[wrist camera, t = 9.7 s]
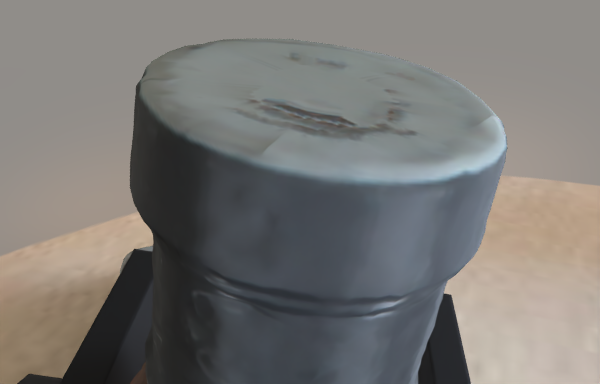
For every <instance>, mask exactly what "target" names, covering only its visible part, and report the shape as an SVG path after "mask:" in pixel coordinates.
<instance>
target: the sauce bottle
mask: <svg viewBox="0 0 600 384" xmlns="http://www.w3.org/2000/svg"><path fill="white" fill-rule="evenodd" d="M506 151H507V137H506V135H505V133H504V125H503V123H502V121H501V120H500V119H499V118H498V117H497V115H496V114H495V113H494V112H493V111H492V110H491V109H490V108H489V107H488V106H487V105H486V104H485V103H484V102H483V101H482V100H481V99H480V98H479V97H478V96H476V95H475V94H474V93H472V92H471V91H470V90H468V89H467V88H466V87H465V86H463V85H462V84H461V83H459V82H458V81H457V80H454V79H452V78H450V77H447V76H445V75H443V74H441V73H438V72H436V71H434V70H432V69H430V68H427V67H424V66H421V65H418V64H415V63H412V62H409V61H406V60H403V59H400V58H396V57H392V56H389V55H385V54H381V53H375V52H370V51H364V50H359V49H354V48H348V47H343V46H337V45H330V44H323V43H315V42H307V41H300V40H293V39H229V40H220V41H214V42H208V43H205V44H198V45H190V46H184V47H181V48H179V49H176V50H173V51H170V52H167V53H166V54H164V55H162V56H160V57H159V58H157V59H155V60H154V61H152V62H151V63H150V64H149V65H148V66H147V67H146V69H145V72H144V74H143V77H142V79H141V80H140V82H139V83H138V84H137V86H136V96H135V109H134V131H133V140H132V150H131V161H130V189H131V193H132V197H133V201H134V204H135V206H136V207H137V210H138V212H139V213H140V215H141V217H142V219H143V221H144V222H145V223H146V224H147V225H148V227H149V228H150V229H151V231H152V233H153V241H154V244H153V251H152V265H153V277H154V280H153V308H152V327H151V329H150V332H149V335H148V338H147V339H146V342H145V356H146V362H145V363H144V364H143V366H142V369H141V370H140V371H139V372H138V373H137V374H136V376H135V377H134V378H133V380H132V381H131V383H130V384H418V370H419V367H420V364H421V359H422V356H423V354H424V351H425V349H426V345H427V342H428V339H429V337H430V335H431V333H432V331H433V328H434V326H435V322H436V317H437V313H438V310H439V306H440V304H441V301H442V299H443V294H444V289H445V286H446V283H447V281H448V280H449V279H451V278H452V277H453V276H455V275H456V274H457V273H458V272H459V271H460V270H461V269H462V268H463V267H464V266H465V265H466V264H467V263H468V262H469V261H470V260H471V259H472V258H473V257H474V255H475V254H476V252H477V250H478V248H479V246H480V244H481V241H482V238H483V236H484V233H485V229H486V222H487V218H488V215H489V212H490V209H491V206H492V203H493V199H494V196H495V192H496V189H497V185H498V182H499V179H500V176H501V173H502V169H503V166H504V163H505V158H506Z"/></svg>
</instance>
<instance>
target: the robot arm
mask: <svg viewBox="0 0 600 384" xmlns="http://www.w3.org/2000/svg"><path fill="white" fill-rule="evenodd" d="M153 280H154V277H153V265H152V251H145V250H139V249H134V250H133V252H132V254H131V256H130V257H129V259H128V261H127V263H126V265H125V266H124V268H123V270H122V272H121V274H120V275H119V277H118V279H117V281H116V283H115V285H114V286H113V288H112V290H111V292H110V294H109V295H108V297H107V299H106V301H105V303H104V304H103V306H102V308H101V310H100V312H99V313H98V315H97V317H96V319H95V321H94V322H93V324H92V326H91V328H90V330H89V331H88V333H87V335H86V337H85V339H84V341H83V342H82V344H81V346H80V348H79V350H78V351H77V353H76V355H75V357H74V359H73V360H72V362H71V364H70V366H69V368H68V369H67V371H66V373H65V375H64V377H63V378H55V377H48V376H41V375H34V374H28V375H27V376H26V377H25V378H23V379H22V380H21V381H20V382H19V383H17V384H130V383H131V381H132V380H133V378H134V377H135V376H136V374H137V373H138V372H139V371H140V370H141V369H142V366H143V364H144V363H145V362H146V356H145V342H146V339H147V338H148V335H149V332H150V329H151V327H152V308H153ZM418 384H471V382H470V377H469V373H468V368H467V364H466V359H465V355H464V350H463V346H462V341H461V337H460V332H459V328H458V323H457V319H456V314H455V310H454V305H453V301H452V296H451V295H449V294H443V299H442V301H441V304H440V306H439V310H438V313H437V317H436V322H435V326H434V328H433V331H432V333H431V335H430V337H429V339H428V342H427V345H426V349H425V351H424V354H423V356H422V359H421V364H420V367H419V370H418Z"/></svg>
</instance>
